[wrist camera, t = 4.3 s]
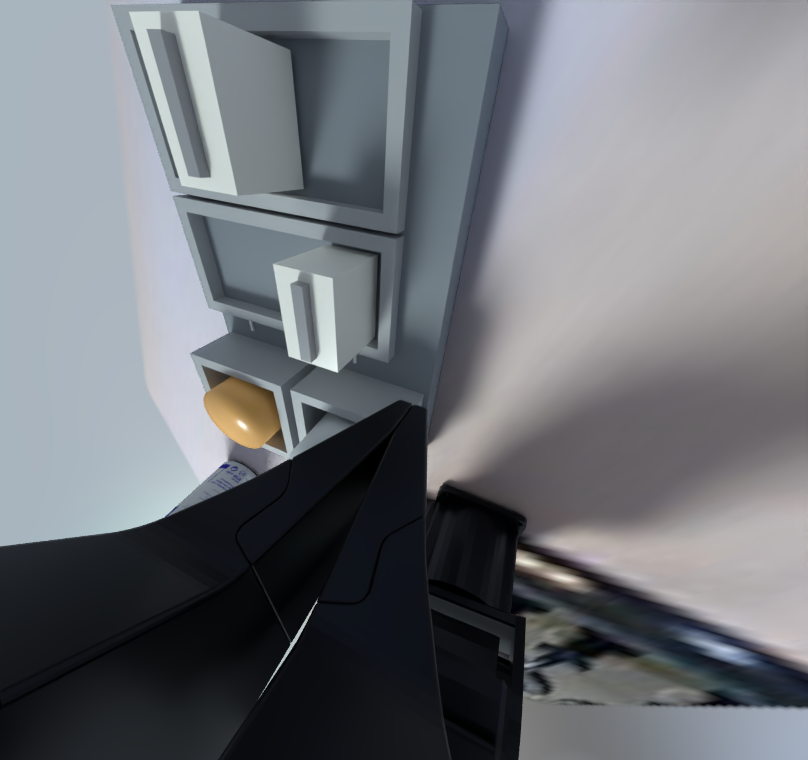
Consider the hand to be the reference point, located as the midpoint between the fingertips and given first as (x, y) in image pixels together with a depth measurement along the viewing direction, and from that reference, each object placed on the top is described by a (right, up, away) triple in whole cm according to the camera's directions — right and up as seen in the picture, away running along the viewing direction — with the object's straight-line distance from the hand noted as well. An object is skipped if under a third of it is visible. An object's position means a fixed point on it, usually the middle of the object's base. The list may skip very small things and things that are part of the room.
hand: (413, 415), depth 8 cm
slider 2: (-3, +5, +6) cm, 8 cm away
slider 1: (-5, +11, +3) cm, 13 cm away
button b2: (-9, 0, +12) cm, 15 cm away
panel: (-4, +6, +9) cm, 12 cm away
